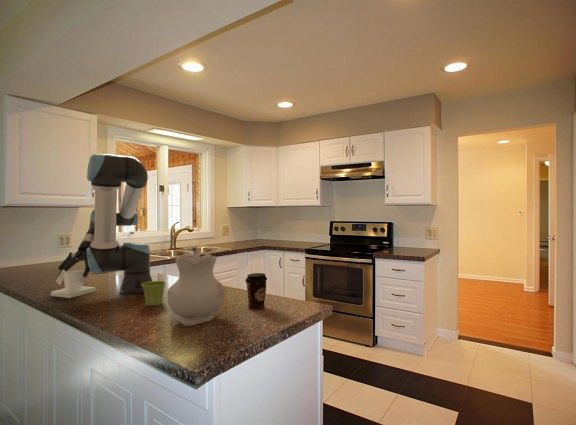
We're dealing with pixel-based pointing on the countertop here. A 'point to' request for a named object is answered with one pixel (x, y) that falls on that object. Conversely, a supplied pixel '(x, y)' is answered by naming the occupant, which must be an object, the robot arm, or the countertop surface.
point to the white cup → (72, 281)
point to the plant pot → (153, 292)
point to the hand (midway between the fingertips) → (68, 282)
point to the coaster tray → (69, 295)
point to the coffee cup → (256, 290)
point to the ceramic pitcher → (195, 289)
